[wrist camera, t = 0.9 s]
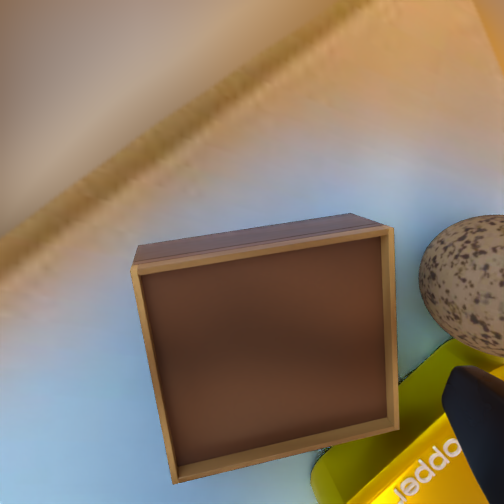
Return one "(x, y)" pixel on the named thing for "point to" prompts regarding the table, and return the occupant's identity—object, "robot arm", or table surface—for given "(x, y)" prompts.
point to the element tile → (409, 445)
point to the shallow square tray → (269, 340)
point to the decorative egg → (467, 282)
